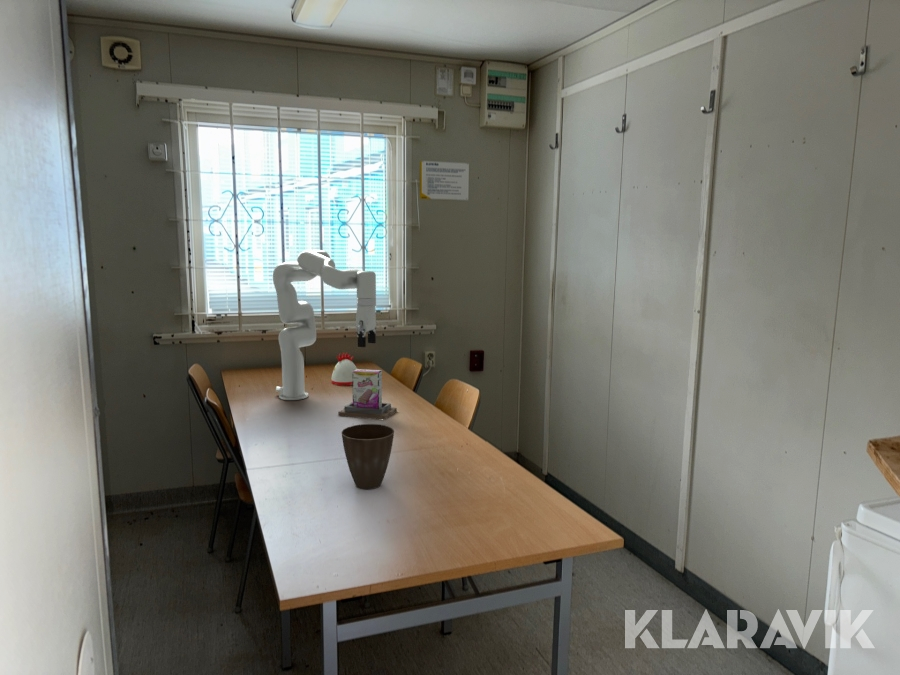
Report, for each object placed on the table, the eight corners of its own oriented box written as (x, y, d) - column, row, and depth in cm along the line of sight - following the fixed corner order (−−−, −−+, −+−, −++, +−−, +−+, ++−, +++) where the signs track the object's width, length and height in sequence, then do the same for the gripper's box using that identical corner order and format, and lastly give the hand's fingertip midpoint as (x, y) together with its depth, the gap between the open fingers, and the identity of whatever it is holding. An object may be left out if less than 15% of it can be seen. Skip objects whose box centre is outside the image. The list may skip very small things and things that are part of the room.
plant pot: (348, 474, 186) (347, 423, 184) (397, 475, 186) (397, 424, 183) (337, 494, 172) (336, 439, 169) (390, 495, 171) (390, 440, 169)
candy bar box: (352, 410, 250) (351, 371, 247) (355, 407, 255) (355, 368, 252) (379, 412, 248) (378, 372, 246) (382, 408, 253) (382, 369, 250)
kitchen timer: (328, 380, 310) (327, 351, 307) (355, 378, 315) (354, 349, 313) (335, 386, 297) (334, 356, 295) (363, 384, 303) (362, 354, 300)
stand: (384, 419, 243) (384, 411, 242) (338, 415, 248) (338, 407, 248) (396, 411, 255) (396, 403, 254) (352, 407, 260) (352, 399, 260)
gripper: (366, 300, 254) (367, 341, 257) (348, 304, 237) (348, 348, 240) (383, 300, 252) (383, 342, 255) (366, 304, 235) (366, 349, 238)
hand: (366, 344), depth 247 cm, fingers open, 9 cm apart
